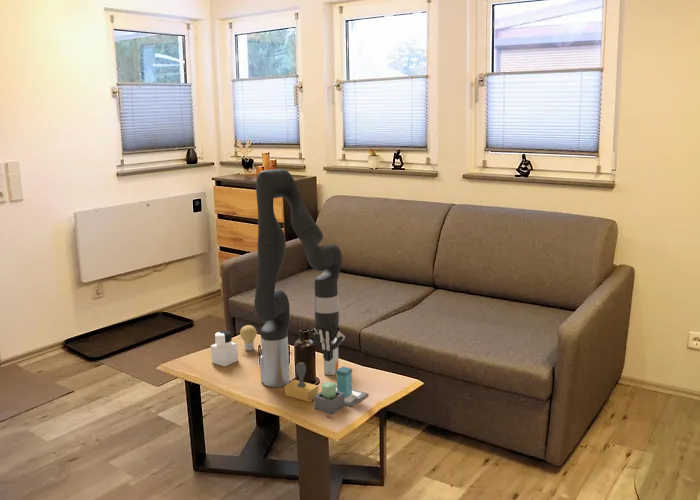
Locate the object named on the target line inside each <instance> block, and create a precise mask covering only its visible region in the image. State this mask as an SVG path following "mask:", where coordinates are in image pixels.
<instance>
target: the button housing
mask: <svg viewBox="0 0 700 500" xmlns="http://www.w3.org/2000/svg"><path fill="white" fill-rule="evenodd" d="M313 405H314V408H313V409H314V410H316V411H318V412H322V413H325V414H329V415H334V414H335V413H337V412H338V411H340V410H341V409H342V408H344V407H345V406H346V405H345V403H344V393H342V392H339V391H336V397H335V398H333V399H332V400H330V399H326V398H323V397H322V391H320V392H318V394H317V395H316V396H314V399H313Z"/></svg>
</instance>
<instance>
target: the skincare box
mask: <svg viewBox="0 0 700 500" xmlns="http://www.w3.org/2000/svg"><path fill="white" fill-rule="evenodd" d="M336 338H337V337H335V342H336V340H337V339H336ZM335 342H334V343H335ZM338 369H339V347H338V348H336V349H334V350H333V359H332V360H330V361H325V360H324V359H323V375H330V376H331V375H332V376H335V375H337V374H336V370H338Z"/></svg>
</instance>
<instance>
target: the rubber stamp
mask: <svg viewBox="0 0 700 500" xmlns="http://www.w3.org/2000/svg"><path fill="white" fill-rule="evenodd" d="M295 372H296V374H297V377H298V379H299V380H298V379H294V380H292V381H289V383H288V384H286V385H284V393H285V394H284V395H285V396H286V397H291V398H293V399H297V400H301V401H305V402H308V403H310V402H312V401H314V396H316V395H317V394H319V386H318V385H317V384H313V383H309V382H305V381H304V378H305V375H306V372H307V366H306V364H305V363H304V362H301V361H300V362H297V364H296V365H295Z"/></svg>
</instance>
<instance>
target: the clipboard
mask: <svg viewBox="0 0 700 500" xmlns="http://www.w3.org/2000/svg"><path fill="white" fill-rule="evenodd" d="M336 391H337V385H336ZM367 396H368V392H364V391H361V390H358V389H354V388H352V394H351V395H350V396H348V397H347V398H345V397H344V403H345V406H347V407H354V406H355V405H357V404H358V403H359V402H360V401H362V400H363V399H364V398H365V397H367Z"/></svg>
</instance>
